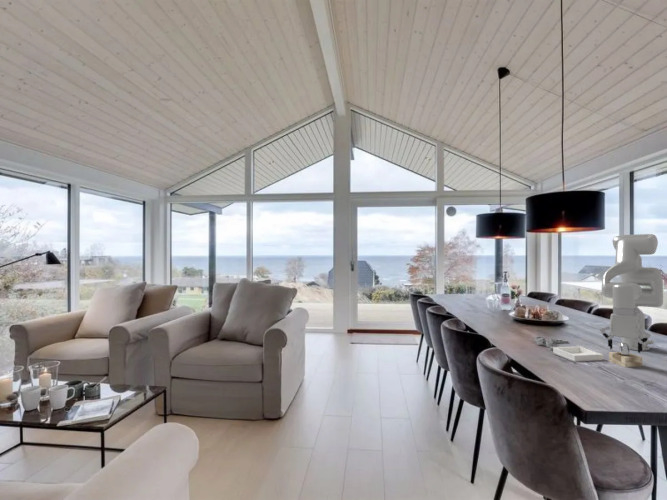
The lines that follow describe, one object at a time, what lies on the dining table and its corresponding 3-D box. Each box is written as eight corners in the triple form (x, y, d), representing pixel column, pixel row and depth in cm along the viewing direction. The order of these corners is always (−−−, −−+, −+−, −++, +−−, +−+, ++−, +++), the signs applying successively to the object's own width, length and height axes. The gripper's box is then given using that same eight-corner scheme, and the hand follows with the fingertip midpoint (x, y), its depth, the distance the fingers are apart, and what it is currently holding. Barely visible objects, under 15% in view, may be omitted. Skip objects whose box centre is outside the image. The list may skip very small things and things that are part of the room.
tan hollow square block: (625, 362, 157) (625, 351, 157) (642, 368, 149) (642, 356, 149) (609, 363, 156) (608, 352, 156) (625, 369, 148) (624, 357, 149)
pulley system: (529, 349, 184) (562, 352, 174) (528, 340, 184) (562, 343, 175) (539, 341, 205) (569, 343, 195) (538, 333, 205) (568, 335, 196)
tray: (579, 353, 172) (579, 346, 172) (603, 362, 158) (603, 354, 158) (553, 354, 171) (553, 347, 171) (574, 363, 157) (574, 355, 157)
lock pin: (625, 362, 154) (625, 342, 154) (631, 364, 151) (631, 344, 151) (619, 362, 154) (618, 342, 154) (625, 364, 151) (624, 344, 151)
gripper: (649, 312, 150) (651, 351, 150) (599, 308, 162) (600, 345, 161) (650, 315, 144) (651, 355, 144) (598, 311, 156) (599, 348, 156)
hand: (624, 350), depth 153 cm, fingers open, 9 cm apart
